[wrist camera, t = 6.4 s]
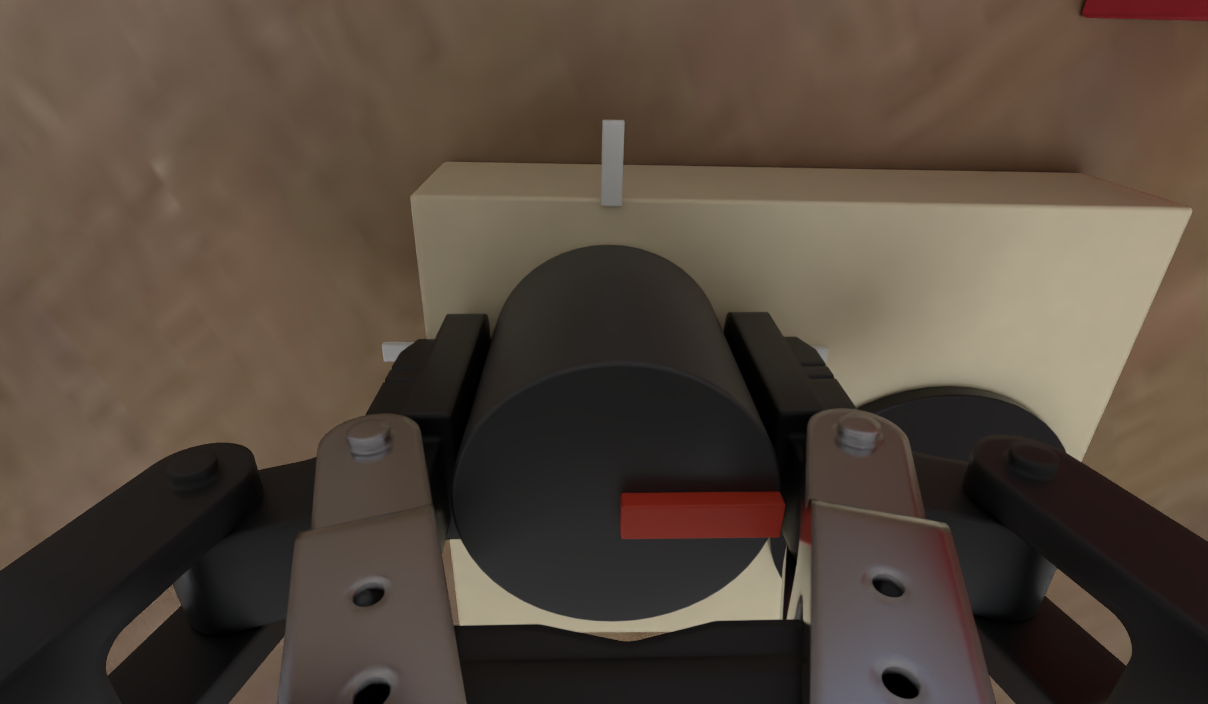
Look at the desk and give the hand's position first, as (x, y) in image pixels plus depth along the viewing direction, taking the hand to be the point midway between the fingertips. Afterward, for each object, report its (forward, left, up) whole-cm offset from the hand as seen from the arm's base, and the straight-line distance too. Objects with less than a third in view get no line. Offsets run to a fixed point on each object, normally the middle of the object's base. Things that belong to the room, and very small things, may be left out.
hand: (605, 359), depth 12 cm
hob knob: (0, 0, 0) cm, 0 cm away
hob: (+4, -2, -3) cm, 5 cm away
